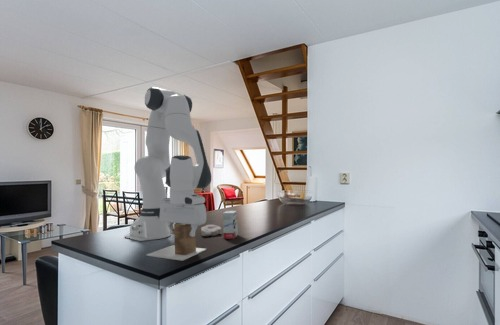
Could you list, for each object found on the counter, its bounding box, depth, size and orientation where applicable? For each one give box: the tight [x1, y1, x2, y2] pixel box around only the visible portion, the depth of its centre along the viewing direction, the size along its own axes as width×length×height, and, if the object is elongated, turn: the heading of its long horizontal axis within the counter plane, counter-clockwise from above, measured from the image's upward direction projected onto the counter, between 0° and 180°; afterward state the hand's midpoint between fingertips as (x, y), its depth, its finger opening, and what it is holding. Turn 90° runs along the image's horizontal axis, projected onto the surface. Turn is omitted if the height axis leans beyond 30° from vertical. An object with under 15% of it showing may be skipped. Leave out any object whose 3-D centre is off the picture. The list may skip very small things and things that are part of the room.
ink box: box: [222, 210, 239, 240], centre depth 127 cm, size 9×5×12 cm, turn 168°
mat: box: [146, 244, 207, 262], centre depth 104 cm, size 17×14×1 cm
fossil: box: [200, 224, 222, 237], centre depth 133 cm, size 9×6×10 cm
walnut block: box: [173, 223, 197, 255], centre depth 103 cm, size 5×6×11 cm
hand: (182, 235), depth 102 cm, fingers open, 8 cm apart
